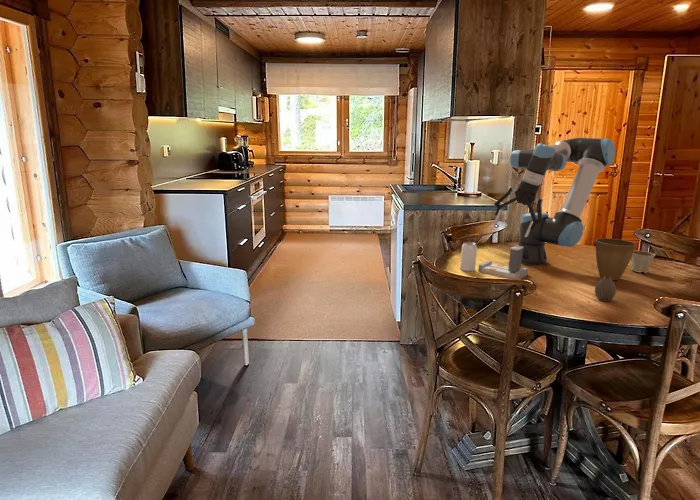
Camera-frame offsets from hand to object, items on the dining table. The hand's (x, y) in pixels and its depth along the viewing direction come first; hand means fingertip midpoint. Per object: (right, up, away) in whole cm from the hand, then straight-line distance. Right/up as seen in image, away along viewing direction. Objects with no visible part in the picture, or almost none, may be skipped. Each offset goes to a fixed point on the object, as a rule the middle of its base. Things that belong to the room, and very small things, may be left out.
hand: (510, 229), depth 206 cm
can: (-16, -17, +10) cm, 25 cm away
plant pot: (+43, -21, +3) cm, 48 cm away
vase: (+27, -27, -24) cm, 45 cm away
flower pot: (+62, -18, +13) cm, 66 cm away
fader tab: (+2, -18, +3) cm, 19 cm away
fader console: (-1, -18, +6) cm, 20 cm away
